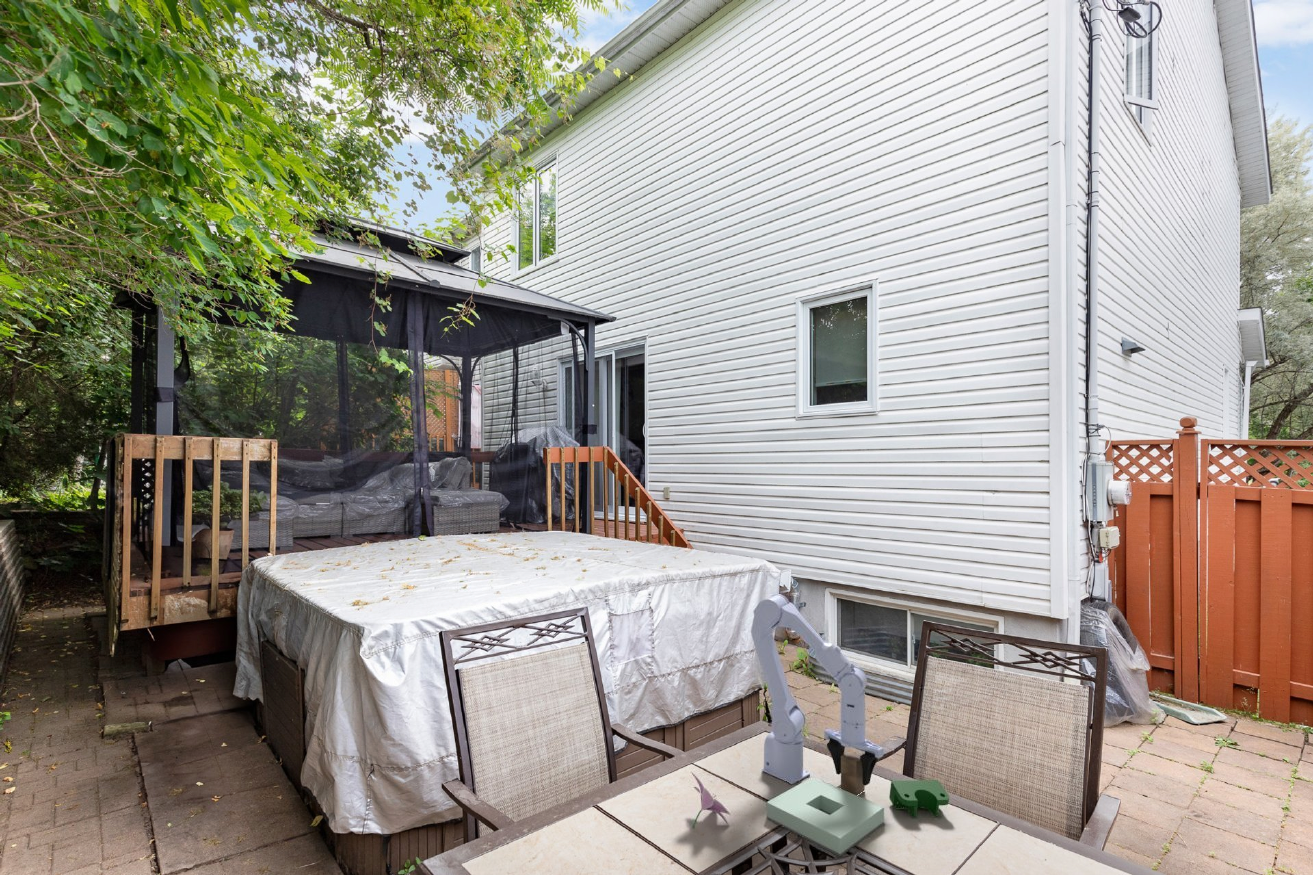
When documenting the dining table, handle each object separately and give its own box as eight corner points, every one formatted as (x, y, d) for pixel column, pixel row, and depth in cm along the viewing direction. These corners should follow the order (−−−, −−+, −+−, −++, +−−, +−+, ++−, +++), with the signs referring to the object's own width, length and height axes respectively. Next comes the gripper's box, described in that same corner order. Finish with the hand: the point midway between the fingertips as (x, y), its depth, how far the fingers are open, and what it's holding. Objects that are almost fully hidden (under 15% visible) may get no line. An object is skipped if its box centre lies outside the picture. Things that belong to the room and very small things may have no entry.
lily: (729, 850, 126) (746, 800, 129) (676, 823, 127) (694, 775, 130) (718, 836, 137) (733, 791, 140) (669, 812, 138) (686, 767, 141)
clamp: (907, 836, 138) (895, 803, 136) (895, 815, 144) (884, 783, 142) (957, 816, 138) (946, 783, 136) (943, 796, 144) (932, 764, 142)
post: (840, 790, 149) (841, 756, 150) (849, 785, 152) (849, 751, 152) (856, 797, 146) (856, 762, 147) (864, 791, 149) (864, 757, 149)
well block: (766, 818, 136) (766, 802, 136) (812, 792, 148) (812, 776, 148) (840, 856, 122) (840, 838, 123) (884, 824, 135) (884, 807, 135)
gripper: (817, 715, 153) (817, 772, 152) (872, 734, 142) (872, 795, 141) (833, 708, 157) (832, 763, 156) (887, 726, 147) (887, 785, 146)
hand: (852, 778), depth 149 cm, fingers open, 6 cm apart
